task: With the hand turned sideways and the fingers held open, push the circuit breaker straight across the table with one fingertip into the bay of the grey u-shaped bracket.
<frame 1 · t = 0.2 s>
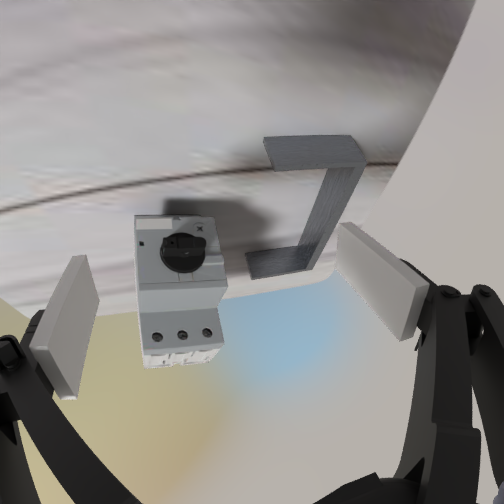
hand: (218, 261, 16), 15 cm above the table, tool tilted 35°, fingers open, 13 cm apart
grey u-shaped bracket: (268, 207, 37), on the table
circuit breaker: (166, 218, 35), on the table
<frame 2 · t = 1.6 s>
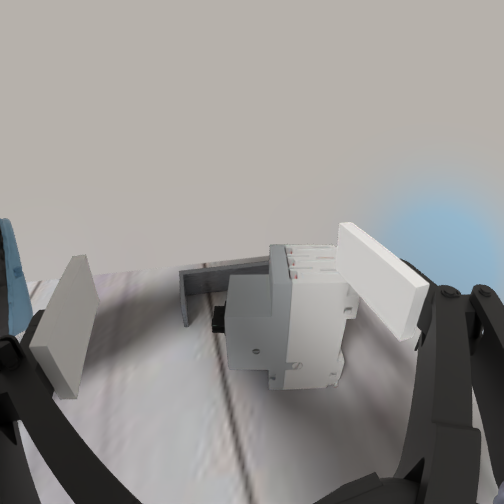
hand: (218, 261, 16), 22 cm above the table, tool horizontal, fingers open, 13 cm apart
grey u-shaped bracket: (254, 309, 48), on the table
circuit breaker: (276, 367, 38), on the table
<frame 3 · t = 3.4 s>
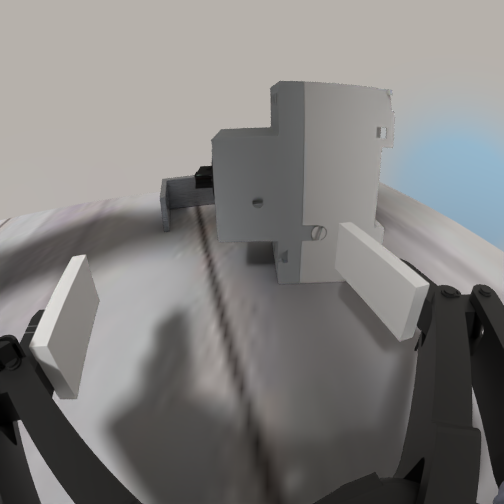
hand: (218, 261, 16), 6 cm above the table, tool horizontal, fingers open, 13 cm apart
grey u-shaped bracket: (253, 215, 39), on the table
circuit breaker: (286, 262, 28), on the table
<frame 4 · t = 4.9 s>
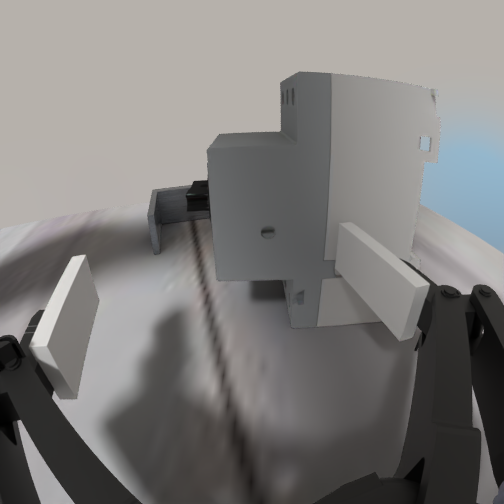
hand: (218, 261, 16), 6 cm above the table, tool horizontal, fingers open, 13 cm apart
grey u-shaped bracket: (257, 232, 34), on the table
circuit breaker: (298, 297, 23), on the table, touching gripper
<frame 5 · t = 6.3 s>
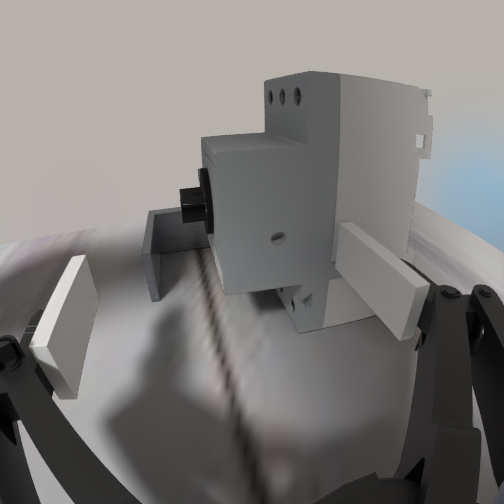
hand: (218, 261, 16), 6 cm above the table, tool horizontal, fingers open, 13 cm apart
grey u-shaped bracket: (282, 269, 27), on the table
circuit breaker: (293, 300, 23), on the table, touching gripper
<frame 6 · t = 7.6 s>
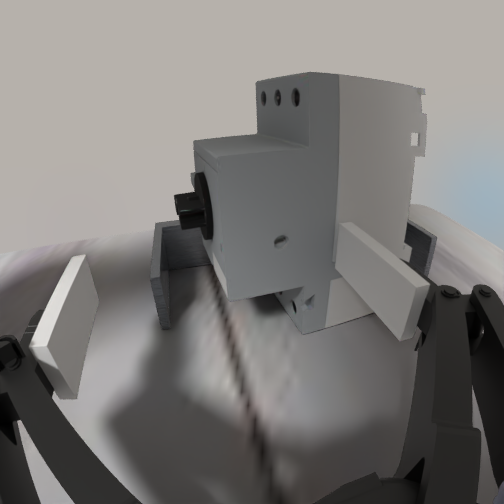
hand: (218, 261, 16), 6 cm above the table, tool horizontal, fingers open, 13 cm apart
grey u-shaped bracket: (305, 289, 24), on the table
circuit breaker: (292, 301, 23), on the table, touching gripper
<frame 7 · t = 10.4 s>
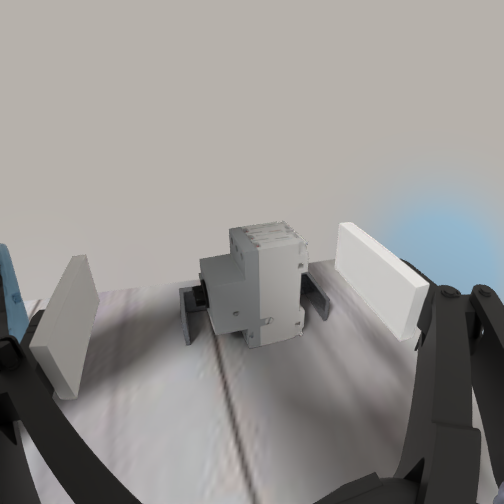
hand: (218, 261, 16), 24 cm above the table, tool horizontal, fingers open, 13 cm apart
grey u-shaped bracket: (256, 325, 47), on the table
circuit breaker: (248, 331, 46), on the table
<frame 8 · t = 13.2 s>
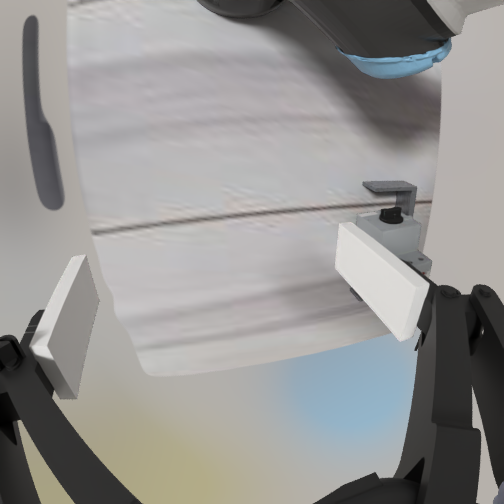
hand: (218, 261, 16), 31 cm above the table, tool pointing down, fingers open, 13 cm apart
grey u-shaped bracket: (366, 238, 55), on the table
circuit breaker: (362, 231, 55), on the table
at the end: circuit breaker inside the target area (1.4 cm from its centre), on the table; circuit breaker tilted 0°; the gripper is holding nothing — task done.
